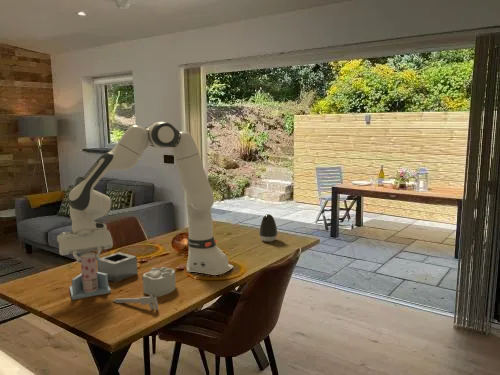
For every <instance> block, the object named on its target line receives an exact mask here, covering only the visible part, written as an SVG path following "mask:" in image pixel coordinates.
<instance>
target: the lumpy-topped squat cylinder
mask: <svg viewBox="0 0 500 375" xmlns="http://www.w3.org/2000/svg"><path fill="white" fill-rule="evenodd" d="M176 284H177V283H176V270H175V269H174V268H171V267H166V266H162V267H161V268H157V267H152V268H151V269H150V271H147V272H144V273H143V274H142V288H143V292H142V293H143V294H145V295H149V296H150V295H151V294H152V295H153V294H154V295H155V297H156V298H158V297H159V298H160V297H163V296H166V295H168V294H171V293H173V292H174V291H175V289H176Z"/></svg>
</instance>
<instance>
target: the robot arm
mask: <svg viewBox="0 0 500 375" xmlns="http://www.w3.org/2000/svg"><path fill="white" fill-rule="evenodd" d="M149 146H150V147H154V148H159V149H164V148H169V149H170V150H171V152H172V154H173V157H174V161H175V164H176V167H177V170H178V173H179V176H180V180H181V182H182V184H183V188H184V190H185V198H186V200H185V202H186V211H187V212H186V213H187V222H188V223H187V224H188V225H187V226H188V237H187V246H188V254H187V255H188V256H187V261H186V265H185V269H186V272H187V273H190V272H198V273H205V274H211V275H218V274H222V273H225V272H227V271H229V270H230V269H232V268H233V269H234V265H232V264H230V263H229V260H228V259H229V258H228V256H227V254H226V253H224V252H223V251H222V249H221V248H219V247H218V246H217V243H218V239H215V238H214V236H213V232H214V231H213V217H212V209H211V208H212V207H213V205H214V202H215V196H214V193H213V190H212V187H211V183H210V182H209V179H208V175H207V174H206V172H205V169H204V165H203V162H202V159H201V156H200V152H199V149H198V146H197V144H196V142H195V139H194V138H193V135H192V134H191V133H190V132H188V131H186V130H185V131H180V130H178V129H177V128H176V127H175V126H174V125H173V124H172V123H169V122H167V121H158V122H157V121H156V122H154V123H152V124H150V125H148V126H147V127H142V126H140V125H138V124H137V125H136V124H134V125H131V126H129V128H127V130H125V131H124V133H123V134H122V136H121V137H120V139H119V140H118V141H117V143H116V145H115V146H114V147H113V148H112V149H111V150H110V151H108V152H104V153H103V154H102V155H100V157H98V159H96V161H95V162H94V163H93V165H91V167H90V168H89V169H88V171H87V172H86V173H85V175H83V177H82V178H81V179H80V181H78V183H76V184H75V185H74V186H73V187H72V188H71V189H70V190H69V193H68V194H67V199H68V200H67V201H68V204H69V216H70V219H71V229H72V230H71V231H67V232H61V233H60V234H58V235H57V236H56V242H57V243H58V251H59V255H60V256H65V255H72V256H73V257H74V259H76V263H81V255H80V256H79V255H78V254H80V253H81V254H83V253H87V252H94V251H96V252H97V253H95V256H96V261H97V260H98V259H100V258H101V257H100V255H101V253H102V250H109V249H112V248H113V246H114V243H113V242H114V241H113V237H112V235H111V232H110V230H108V227H107V223H105V222H103V223H101V222H97V221H95V220H98V219H101V218H103V217H105V216H107V215H108V214H109V213H110V212H111V209H112V204H113V203H112V199H111V197H110V196H108V195H106V194H104V193H102V192H100V191H98V190H95V189H94V188H95V187H96V185H97V184H98V183H99V181H101V179H102V178H103V177H104V175H105V174H106V173H107V172H110V171H118V170H119V171H127V170H131V169H133V168H134V167H135V166H136V165H137V164H138V163H139V161H140V159H141V157H142V155H143V154H144V151H146V149H147V148H149ZM233 269H232V270H233Z"/></svg>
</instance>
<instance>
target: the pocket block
mask: <svg viewBox="0 0 500 375" xmlns="http://www.w3.org/2000/svg"><path fill="white" fill-rule="evenodd" d="M137 260H138V257H137V255H133V254H132V255H131V254H128V253H124V252H121V251H118V252H114V253H112V254H109V255H105V256H102V257H100V259H98V260H96V267H97V272H101V273H105V274H108V281H111V282H114V283H117V282H120V281H123V280H125V279H128V278H130V277H132V276H136V275H137V274H138V261H137Z"/></svg>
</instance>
